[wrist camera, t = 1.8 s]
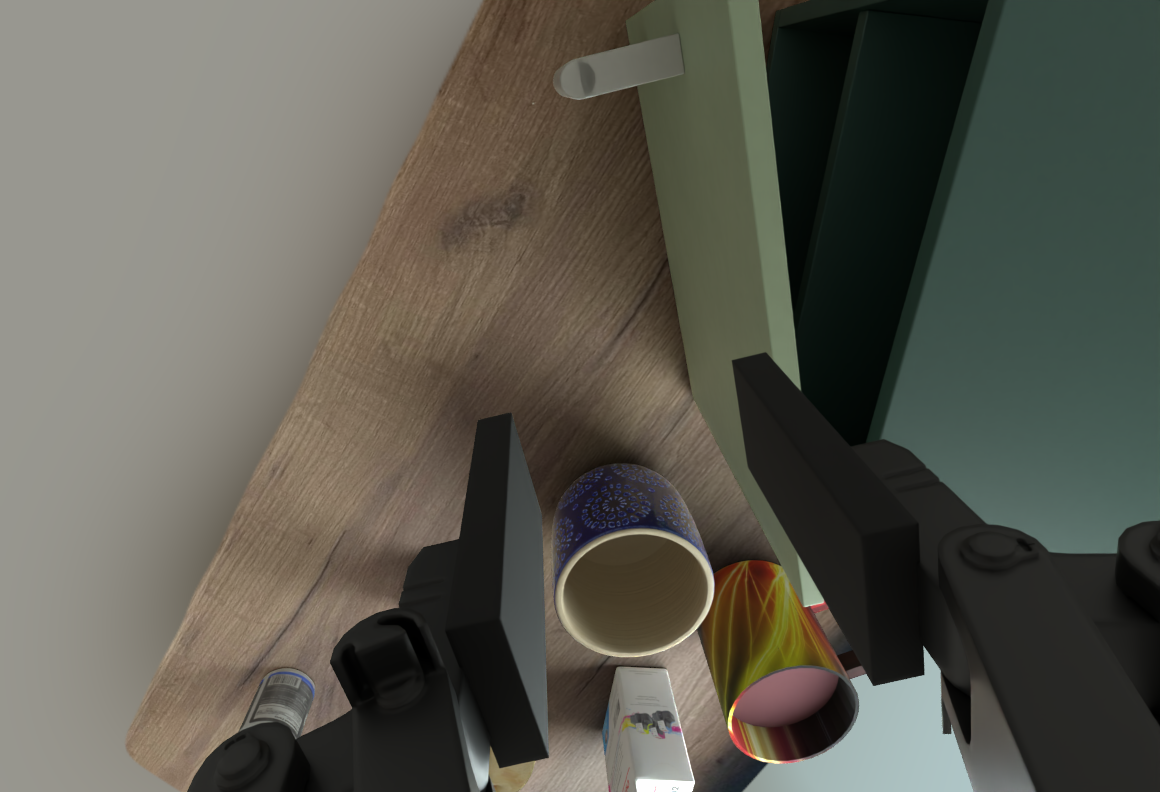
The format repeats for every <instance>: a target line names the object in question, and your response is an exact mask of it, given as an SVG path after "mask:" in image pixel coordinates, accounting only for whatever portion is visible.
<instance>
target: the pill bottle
mask: <svg viewBox="0 0 1160 792" xmlns="http://www.w3.org/2000/svg"><path fill="white" fill-rule="evenodd" d="M314 695H315V685H314V683H313V681H312V680H311V679H310V678H309V677H308V676H307V675H306V674H305V673H303V672H301V671H299V670H296V669H291V668H281V669H277V670H274V671H272V672H270V673H268V674H267V675H266V676H265V677H264V678H263V679H262V681H261V683H260V685H259V687H258V689H257V692H256V694H255V696H254V698H253V701H252V703H251V705H250V707H249V710H248V712H247V714H246V716H245V719H244V721H243V723H242V725H241V727H240V730H239V732H240V731H241V730H243V729H246V728H249V727H251V726H254V725H257V724H259V723H267V722H279V723H281V724H284V725H286V726H288V727H290V729H291V731H292V733H293V734H294V736H295V738H296V739H297V738H299V737H300V736H301V733H302V730H303V727H304V724H305V721H306V718H307V715H308V713H309V710H310V707H311V704H312V701H313V698H314Z"/></svg>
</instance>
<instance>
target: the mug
mask: <svg viewBox="0 0 1160 792" xmlns="http://www.w3.org/2000/svg"><path fill="white" fill-rule="evenodd" d="M713 575H714V582H715V590H714V597H713V601H712V605H711V607H710V610H709V612H708V614H707V615H706V617H705V619H704V620H703V622H702V623H701V624H700V625H699V627H698V628H697V631H698V634H699V637H700V640H701V643H702V647H703V650H704V653H705V656H706V660H707V663H708V666H709V669H710V673H711V676H712V679H713V682H714V685H715V689H716V692H717V695H718V698H719V702H720V705H721V708H722V711H723V715H724V718H725V721H726V724H727V727H728V731H729V734H730V737H731V739H732V741H733V742H734V744H735V745H736V747H737V748H739V749H740V750H741V751H742V752H743V753H745V754H746V755H748V756H750V757H752V758H754V759H757V760H760V761H763V762H770V763H793V762H799V761H803V760H806V759H810V758H813V757H815V756H818V755H820V754H822V753H824V752H826V751H827V750H829V749H831V748H832V747H834V746H835V745H836V744H837V743H839V742H840V741H841V740H842V739H843V738H844V737H845V736H846V735H847V734H848V732H849V731H850V730H851V728H852V726H853V725H854V723H855V721H856V718H857V715H858V712H859V699H858V695H857V692H856V690H855V688H854V686H853V685H852V683H851V681H850V679H852V678H855V677H858V676H861V675H864V674H866V672H865V670H864V669H863V667H862V665H861V663H860V662H859V660H858V658H857V656H856V655H855V653H854V651H853V650H852V651H849V652H846V653H843V654H840V655H836V653H835V651H834V649H833V648H832V646H831V644H830V642H829V640H828V638H827V636H826V635H825V633H824V631H823V629H822V627H821V625H820V624H819V622H818V620H817V618H816V616H815V614H814V613H817V612H820V611H823V610H826V609H829V608H828V606H827V604H826V603H825V601H824V603H821V604H816V605H812V606H807V607H803V606H802V604H801V602H800V600H799V598H798V596H797V594H796V592H795V591H794V589H793V587H792V585H791V583H790V581H789V579H788V577H787V575H786V573H785V572H784V570H783V568H782V566H780V565H777V564H775V563H772V562H768V561H763V560H748V561H741V562H737V563H734V564H731V565H728V566H726V567H724V568H722V569H720V570H718V571H717V572H716V573H714V574H713Z"/></svg>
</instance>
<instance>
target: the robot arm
mask: <svg viewBox="0 0 1160 792" xmlns="http://www.w3.org/2000/svg"><path fill="white" fill-rule="evenodd" d="M732 366H733V373H734V380H735V386H736V393H737V400H738V406H739V413H740V419H741V426H742V433H743V439H744V446H745V453H746V459H747V466H748V469H749V470H750V472H751V474H752V475H753V477H754V479H755V481H756V482H757V484H758V486H759V488H760V489H761V491H762V493H763V495H764V496H765V498H766V500H767V502H768V503H769V505H770V507H771V509H772V510H773V512H774V514H775V515H776V517H777V519H778V521H779V522H780V524H781V526H782V528H783V529H784V531H785V533H786V535H787V536H788V538H789V540H790V542H791V543H792V545H793V547H794V549H795V550H796V552H797V554H798V556H799V557H800V559H801V561H802V562H803V564H804V566H805V568H806V569H807V571H808V573H809V575H810V576H811V578H812V580H813V582H814V583H815V585H816V587H817V589H818V590H819V592H820V594H821V596H822V597H823V599H824V601H825V603H826V604H827V606H828V608H829V609H830V611H831V613H832V615H833V616H834V618H835V620H836V622H837V623H838V625H839V627H840V629H841V630H842V632H843V634H844V636H845V637H846V639H847V641H848V643H849V644H850V646H851V648H852V649H853V651H854V653H855V655H856V656H857V658H858V660H859V662H860V663H861V665H862V667H863V669H864V670H865V672H866V674H867V676H868V677H869V679H870V681H871V683H872V684H873V686H876V685H880V684H885V683H890V682H894V681H898V680H903V679H907V678H912V677H917V676H921V675H924V650H923V646H924V647H925V648H926V650H927V651H928V653H929V654H930V656H931V657H932V658H933V660H934V661H935V663H936V664H937V665H938V667H939V668H940V670H941V704H942V729H943V734H951V725H952V728H953V731H954V734H955V737H956V740H957V743H958V746H959V749H960V752H961V754H962V758H963V761H964V763H965V767H966V770H967V773H968V776H969V779H970V782H971V785H972V788H973V791H974V792H1160V520H1158V521H1147V522H1141V523H1139V524H1136V525H1134V526H1131V527H1128V528H1126V530H1125V531H1124V532H1123V533H1122V534H1121V536H1120V537H1119V538H1118V547H1117V553H1071V554H1069V553H1053V552H1049V551H1048V550H1047V549H1046V548H1045V547H1044V546H1043V545H1042V544H1041V543H1040V542H1039V541H1038V540H1037V539H1036V538H1034V537H1032V536H1030V535H1028V534H1026V533H1024V532H1022V531H1020V530H1017V529H1013V528H1009V527H1005V526H1001V525H992V524H987V523H986V522H985V521H983V520H982V519H981V518H980V517H979V516H978V515H977V514H976V513H975V512H974V511H973V510H972V509H971V508H970V507H969V506H968V505H967V504H966V503H965V502H964V501H963V500H961V499H960V498H959V497H958V496H957V495H956V494H955V493H954V492H953V491H952V490H951V489H950V488H949V487H948V486H947V485H946V484H945V483H944V482H943V481H942V482H940V480H939V478H938V477H937V476H936V475H935V474H934V473H933V472H932V471H931V470H930V469H929V468H928V469H927V468H926V465H925V464H924V463H923V462H922V461H921V460H920V459H918V458H917V457H916V456H915V455H914V454H913V453H912V452H911V451H910V450H909V449H906V448H904V447H902V446H899V445H897V444H895V443H892V442H890V441H888V440H885V439H881V440H877V441H872V442H868V443H864V444H859V445H855V446H851V447H850V446H849V444H848V443H847V442H846V441H845V440H844V439H843V438H842V437H841V435H840V434H839V433H838V432H837V431H836V430H835V429H834V428H833V427H832V425H831V424H830V423H829V422H828V421H827V420H826V419H825V418H824V416H823V415H822V414H821V413H820V412H819V411H818V410H817V409H816V408H815V406H814V405H813V404H812V403H811V402H810V401H809V400H808V399H807V397H806V396H805V395H804V394H803V393H802V392H801V391H800V390H799V388H798V387H797V386H796V385H795V384H794V383H793V382H792V381H791V380H790V378H789V377H788V376H787V375H786V374H785V373H784V372H783V371H782V369H781V368H780V367H779V366H778V365H777V364H776V363H775V362H774V361H773V359H772V358H771V357H770V356H769V355H768V354H767V353H766V352H764V353H760V354H756V355H751V356H747V357H743V358H739V359H735V360H732ZM403 590H404V591H402V593H401V597H400V601H399V608H394V609H390V610H386V611H382V612H378V613H376V614H374V615H372V616H370V617H368V618H366V619H364V620H362V621H360V622H359V623H358V624H356V625H355V626H354V627H353V628H351V629H350V630H349V631H348V632H347V633H345V634H344V635H343V637H342V638H341V639H340V641H339V642H338V644H337V645H336V646H335V648H334V650H333V653H332V657H331V660H330V664H331V666H332V668H333V670H334V672H335V674H336V676H337V678H338V680H339V682H340V684H341V686H342V688H343V690H344V692H345V694H346V696H347V698H348V700H349V702H350V704H351V706H352V709H351V710H350V711H349V712H347V713H346V714H344V715H342V716H341V717H339V718H337V719H335V720H334V721H332V722H330V723H328V724H326V725H324V726H322V727H320V728H317V729H315V730H313V731H311V732H309V733H307V734H305V735H303V736H301V737H299V738H297V739H296V738H295V736H294V734H293V733H292V731H291V729H290V727H288V726H286V725H284V724H281V723H279V722H267V723H259V724H257V725H254V726H251V727H249V728H246V729H243V730H241V731H240V732H238V733H237V734H235V735H233V736H232V737H230V738H229V739H227V740H226V741H224V742H223V743H222V744H221V745H220V746H219V747H218V748H216V749H215V750H214V751H213V752H212V753H211V754H210V755H209V756H208V757H207V758H206V760H205V761H204V763H203V764H202V766H201V767H200V769H199V770H198V772H197V773H196V775H195V776H194V778H193V780H192V783H191V785H190V787H189V789H188V791H187V792H496V790H495V788H494V786H493V783H492V781H491V778H490V776H489V759H490V746H491V748H492V751H493V753H494V756H495V758H496V761H497V763H498V766H499V768H504V767H509V766H513V765H518V764H522V763H527V762H531V761H536V760H540V759H545V758H549V747H548V712H547V676H546V641H545V606H544V571H543V535H542V513H541V510H540V507H539V503H538V500H537V497H536V493H535V490H534V486H533V483H532V480H531V476H530V473H529V470H528V466H527V463H526V460H525V456H524V453H523V450H522V446H521V443H520V439H519V436H518V433H517V429H516V426H515V423H514V419H513V416H512V413H511V412H510V413H506V414H502V415H498V416H493V417H489V418H485V419H481V420H478V422H477V429H476V435H475V441H474V448H473V454H472V461H471V467H470V473H469V480H468V486H467V492H466V499H465V505H464V512H463V518H462V524H461V531H460V537H459V539H457V540H453V541H449V542H444V543H440V544H436V545H431V546H427V547H423V549H422V550H421V551H420V552H419V554H418V555H417V556H416V558H415V559H414V560H413V562H412V563H411V564H410V565H409V567H408V569H407V573H406V577H405V581H404V585H403Z"/></svg>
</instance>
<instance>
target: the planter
mask: <svg viewBox="0 0 1160 792" xmlns="http://www.w3.org/2000/svg"><path fill="white" fill-rule="evenodd" d="M551 571H552V588H553V598H554V605H555V610H556V613H557V616H558V618H559V620H560V622H561V624H562V626H563V627H564V629H565V630H566V631H567V632H568V634H569V635H570V636H571V637H572V638H574V639H575V640H576V641H577V642H579V643H580V644H582V645H583V646H585V647H587V648H589V649H591V650H593V651H596V652H598V653H602V654H605V655H610V656H616V657H640V656H646V655H651V654H655V653H658V652H661V651H664V650H666V649H669V648H671V647H673V646H675V645H676V644H678V643H680V642H681V641H683V640H684V639H686V638H687V637H688V636H689V635H691V634H692V633H693V632H694V631H695V630H696V629H697V628H698V627H699V625H700V624H701V623H702V622H703V620H704V619H705V617H706V615H707V614H708V612H709V610H710V607H711V605H712V601H713V597H714V590H715V582H714V575H713V571H712V568H711V564H710V561H709V558H708V555H707V552H706V550H705V547H704V544H703V542H702V539H701V536H700V534H699V532H698V529H697V527H696V524H695V522H694V520H693V517H692V515H691V513H690V511H689V509H688V507H687V505H686V504H685V502H684V500H683V498H682V497H681V495H680V494H679V492H678V491H677V489H676V488H675V487H674V486H673V485H672V484H671V483H670V482H669V481H668V480H667V479H666V478H665V477H663V476H662V475H661V474H659V473H657V472H655V471H653V470H651V469H649V468H646V467H643V466H640V465H636V464H630V463H614V464H608V465H604V466H600V467H597V468H595V469H592V470H590V471H588V472H587V473H585V474H583V475H582V476H581V477H579V478H578V479H577V480H576V481H575V482H573V483H572V484H571V485H570V487H569V488H568V489H567V490H566V491H565V493H564V494H563V496H562V497H561V499H560V501H559V503H558V506H557V509H556V512H555V515H554V519H553V527H552V538H551Z"/></svg>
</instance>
